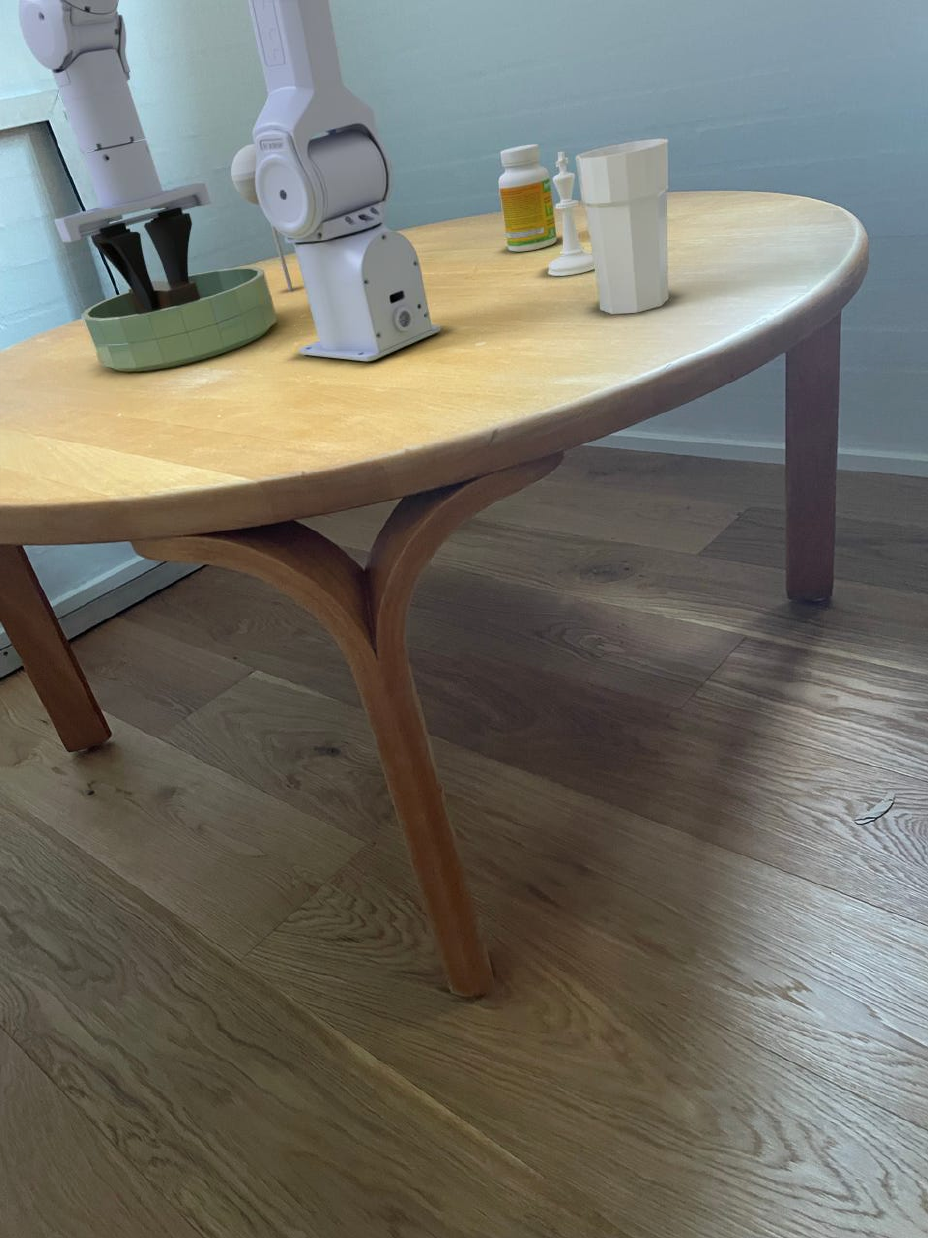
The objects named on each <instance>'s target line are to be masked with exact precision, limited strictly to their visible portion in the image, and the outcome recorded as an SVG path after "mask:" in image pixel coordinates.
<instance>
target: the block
mask: <svg viewBox="0 0 928 1238" xmlns="http://www.w3.org/2000/svg"><path fill="white" fill-rule="evenodd" d="M151 283H152V286H153V288H154V291H155V295H156V299H157V304H158V308H155V309H143V308H142V306H141V304H140V302H139V301H138V299H137V297H136V296H135V294H134V292H133V291H132V289H131V288H129V289H128V292H129V293H130V296H131V299H132V301H133V304H134V307H135V310H136V312H137V314H141V313H147V312H152V311H157V310H161V309H165V308H170V307H174V306H178V305H182V304H186V303H189V302H193V301H196V300H200V296H199V293H198V290H197V287H196V284H195V282H173V281H167V280H153V281H151Z"/></svg>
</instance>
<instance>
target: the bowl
mask: <svg viewBox="0 0 928 1238" xmlns="http://www.w3.org/2000/svg"><path fill="white" fill-rule="evenodd" d="M188 279H189V282H195V284H196V287H197V290H198V293H199V296H200V300H196V301H193V302H189V303H186V304H182V305H178V306H174V307H170V308H165V309H161V310H157V311H152V312H147V313H141V314H137V312H136V310H135V307H134V304H133V301H132V299H131V296H130V293H129V291H126V292H123V293H120V294H118V295H115V296H113V297H109V298H107V299H104V300H101V301H100V302H98V303H96V304H93V305H92V306H90V307H87V308H86V310H84V312H83V313H82V314H81V315H80V317H81V320H82V322H83V323H84V327H85V329H86V331H87V334H88V337H89V339H90V342H91V344H92V347H93V350H94V352H95V355H96V357H97V360H98V362H99V364H101V366H102V367H104V368H105V367H106V368H109V369H110V368H111V369H113V370H115V371H118V372H125V373H126V372H127V373H136V372H148V371H156V370H163V369H168V368H174V367H178V366H183V365H187V364H192V363H196V362H199V361H202V360H207V359H209V358H213V357H216V356H219V355H222V354H225V353H228V352H230V351H233V350H236V349H238V348H241V347H243V346H245V345H248V344H249V343H252V342H253V341H255V340H257V339H258V338H259V339H260V337H262V336H264V335H265V334H266V333H267V332H268V331H269V330H270V328H271V326H273V325H274V324H276V322H277V312H276V308H275V305H274V301H273V298H272V295H271V290H270V287H269V284H268V280H267V276H266V274H265V269H262V268H260V267H257V266H256V267H255V266H253V267H252V266H245V267H244V266H239V267H231V268H223V269H221V268H220V269H216V270H209V271H205V272H198V273H193V274H188ZM166 281H168V280H167V279H166Z"/></svg>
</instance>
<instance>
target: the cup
mask: <svg viewBox="0 0 928 1238" xmlns="http://www.w3.org/2000/svg"><path fill="white" fill-rule="evenodd" d="M575 165H576V172H577V179H578V184H579V185H578V186H579V190H580V191H579V192H580V197H581V198H580V199H581V203H582V205H583V206H584V210H585V216H586V217H585V218H586V223H587V230H588V235H589V242H590V249H591V253H592V256H593V262H594V268H595V269H594V274H595V280H596V286H597V294H598V300H599V309H600V311H602V312H605V313H607V314H611V315H620V314H635V313H636V314H637V313H641V312H644V311H648V310H652V309H655V308H658V307H662V306H663V305H664V304H665V303H666V302H667V301H668V300H669V267H668V266H669V265H668V263H669V257H668V189H669V185H670V184H669V183H670V181H669V178H670V177H669V176H670V175H669V167H670V166H669V139H668V138H652V139H651V138H649V139H643V140H634V141H629V142H624V143H618V144H612V145H608V146H603V147H600V148H596V149H592V150H589V151H586V152H582V153H580V154H577V155H576V156H575Z"/></svg>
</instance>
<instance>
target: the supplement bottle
mask: <svg viewBox="0 0 928 1238" xmlns="http://www.w3.org/2000/svg"><path fill="white" fill-rule="evenodd" d="M540 156H541V154H540V148H539V144H537V143H534V144H532V143H531V144H525V145H520V146H515V147H514V146H513V147H510V148H506V149H503V150H501V151H500V161H501V165H502V167H503V168H504V172H503V173H502V174H501V175H500V176H499V178H498V181H497V182H498V192H499V197H500V205H501V212H502V218H503V224H504V233H505V238H506V239H505V240H506V245H507V249H508V250H509V251H511V252H518V253H519V252H529V251H535V250H540V249H543V248H546V247H549V246H553V244H555V243H556V242H557V229H556V221H555V213H554V205H553V195H552V190H551V189H552V188H551V180H550V174H549V171H548V169H547V168H546V167H545V166H541V165H540V164H539V160H541V157H540Z"/></svg>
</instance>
